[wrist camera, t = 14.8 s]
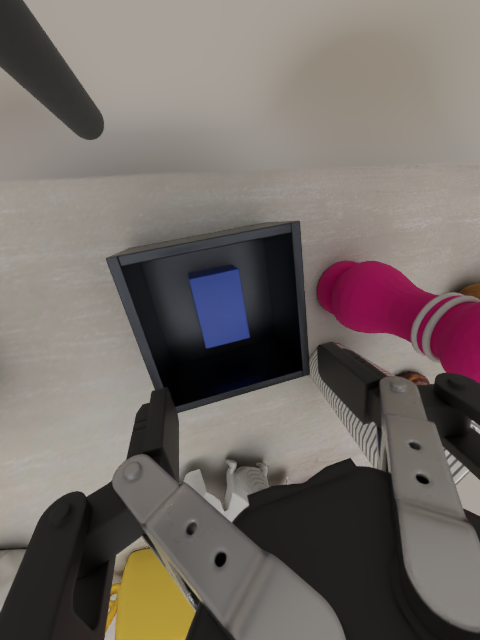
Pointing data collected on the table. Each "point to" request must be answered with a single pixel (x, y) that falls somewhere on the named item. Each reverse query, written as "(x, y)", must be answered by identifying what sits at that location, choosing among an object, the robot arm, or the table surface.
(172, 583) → the teapot
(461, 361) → the pepper mill
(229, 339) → the blue rectangular block
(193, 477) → the dragon figurine
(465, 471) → the cup
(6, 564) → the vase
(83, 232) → the table surface
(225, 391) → the black open box
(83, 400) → the table surface
